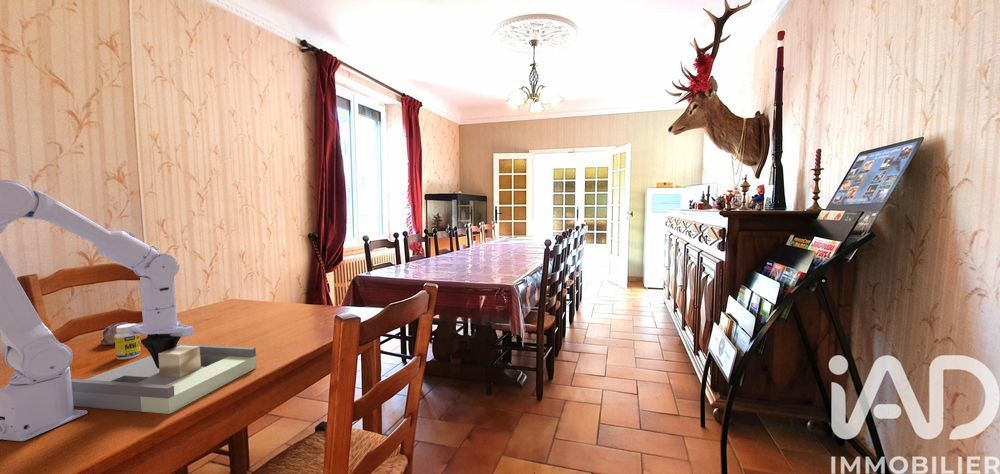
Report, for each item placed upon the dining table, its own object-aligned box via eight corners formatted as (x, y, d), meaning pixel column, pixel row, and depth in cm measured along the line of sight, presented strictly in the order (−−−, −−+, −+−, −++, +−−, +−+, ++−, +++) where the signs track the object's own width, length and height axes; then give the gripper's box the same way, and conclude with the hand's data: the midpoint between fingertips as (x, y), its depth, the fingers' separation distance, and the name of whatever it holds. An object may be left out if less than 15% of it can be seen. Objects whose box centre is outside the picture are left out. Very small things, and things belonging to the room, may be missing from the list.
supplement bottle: (125, 360, 102) (123, 328, 101) (111, 359, 103) (108, 327, 102) (145, 353, 106) (143, 323, 106) (131, 352, 107) (129, 322, 107)
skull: (102, 339, 119) (100, 319, 119) (136, 333, 124) (135, 314, 124) (99, 349, 110) (97, 328, 110) (136, 343, 115) (135, 322, 115)
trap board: (169, 413, 75) (167, 388, 75) (57, 404, 79) (55, 380, 79) (256, 367, 97) (255, 347, 96) (165, 362, 101) (163, 342, 100)
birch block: (180, 377, 84) (178, 354, 84) (159, 375, 85) (158, 353, 85) (200, 367, 89) (199, 346, 89) (181, 366, 90) (180, 345, 90)
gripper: (204, 303, 90) (208, 361, 91) (149, 301, 92) (153, 358, 93) (174, 311, 83) (179, 374, 84) (116, 309, 85) (121, 370, 86)
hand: (163, 366), depth 88 cm, fingers closed
